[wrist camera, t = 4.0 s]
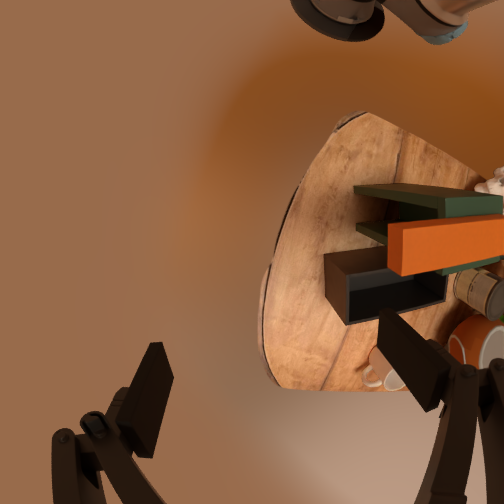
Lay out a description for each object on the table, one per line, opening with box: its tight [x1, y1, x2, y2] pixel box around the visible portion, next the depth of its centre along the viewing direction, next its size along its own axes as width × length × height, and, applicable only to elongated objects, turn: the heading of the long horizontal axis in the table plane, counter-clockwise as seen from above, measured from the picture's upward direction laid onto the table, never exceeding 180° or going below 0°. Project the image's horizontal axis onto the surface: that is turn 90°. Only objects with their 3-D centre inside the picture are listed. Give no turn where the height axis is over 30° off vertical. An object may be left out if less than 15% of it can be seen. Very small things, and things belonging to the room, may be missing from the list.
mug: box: [361, 345, 405, 391], centre depth 58 cm, size 12×8×10 cm
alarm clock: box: [448, 314, 504, 369], centre depth 51 cm, size 19×18×17 cm
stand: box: [354, 183, 503, 276], centre depth 40 cm, size 12×9×28 cm
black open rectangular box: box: [324, 246, 449, 326], centre depth 51 cm, size 22×9×13 cm, turn 97°
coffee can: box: [454, 267, 504, 321], centre depth 52 cm, size 10×10×14 cm
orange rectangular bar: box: [387, 214, 504, 276], centre depth 25 cm, size 19×4×3 cm, turn 96°
